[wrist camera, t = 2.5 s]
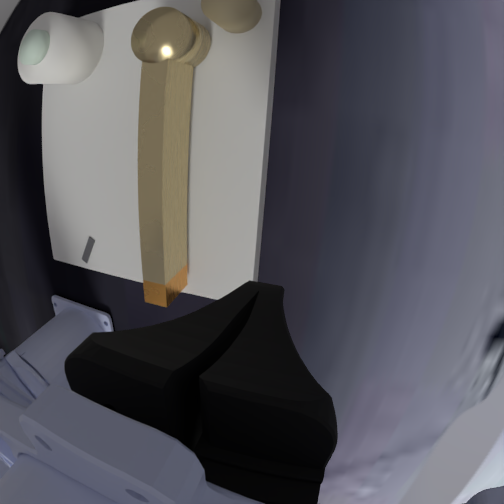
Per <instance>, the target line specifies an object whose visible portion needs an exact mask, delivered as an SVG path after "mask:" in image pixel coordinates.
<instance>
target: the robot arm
mask: <svg viewBox="0 0 504 504" xmlns="http://www.w3.org/2000/svg"><path fill="white" fill-rule="evenodd" d="M283 297H284V288H283V287H282V286H278V285H272V284H267V283H261V282H256V281H250V280H249V281H248V282H246V283H244V284H243V285H241V286H240V287H238V288H237V289H235V290H233V291H232V292H230V293H229V294H227V295H225V296H224V297H222V298H220V299H219V300H217V301H215V302H213V303H211V304H209V305H207V306H205V307H203V308H201V309H199V310H197V311H195V312H193V313H190V314H188V315H185V316H182V317H180V318H177V319H174V320H171V321H167V322H163V323H160V324H156V325H152V326H148V327H143V328H137V329H131V330H123V331H114V330H113V325H112V320H111V316H110V315H109V314H108V313H105V312H102V311H99V310H97V309H94V308H91V307H88V306H85V305H82V304H79V303H76V302H74V301H71V300H68V299H65V298H63V297H60V296H57V295H54V296H52V303H53V306H54V310H55V314H56V316H55V317H54V318H53V319H51V320H50V321H49V322H48V323H46V324H45V325H44V326H43V327H41V328H40V329H39V330H38V331H37V332H35V333H34V334H33V335H32V336H30V337H29V338H28V339H27V340H26V341H24V342H23V343H22V344H21V345H20V346H18V347H17V348H16V349H15V350H13V351H12V352H10V353H9V354H7V355H6V356H5V357H4V355H5V354H6V353H5V352H4V350H3V349H0V504H317V502H318V496H319V490H320V484H321V483H322V482H323V478H324V472H325V467H326V465H327V463H328V461H329V460H330V458H331V456H332V454H333V452H334V450H335V448H336V444H337V437H338V433H337V421H336V415H335V410H334V405H333V401H332V398H331V396H330V395H329V394H328V393H327V392H326V391H325V390H324V389H323V388H322V387H321V386H320V385H319V384H318V383H317V381H316V380H315V379H314V377H313V376H312V375H311V373H310V372H309V371H308V369H307V367H306V366H305V364H304V363H303V361H302V359H301V358H300V356H299V354H298V352H297V350H296V348H295V346H294V343H293V341H292V339H291V336H290V333H289V330H288V327H287V323H286V319H285V314H284V309H283ZM464 504H504V486H502V487H496V488H490V489H486V490H483V491H481V492H479V493H477V494H476V495H474V496H473V497H472V498H471V499H470V500H468V502H467V503H464Z"/></svg>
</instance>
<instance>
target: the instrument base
mask: <svg viewBox="0 0 504 504" xmlns="http://www.w3.org/2000/svg"><path fill="white" fill-rule="evenodd" d="M280 1H281V0H138V1H134V2H130V3H126V4H122V5H118V6H115V7H111V8H108V9H104V10H101V11H98V12H95V13H91V14H88V15H85V16H82V17H79V18H77V17H73V16H68V15H64V14H59V13H55V12H47V13H44V14H42V15H41V16H39V17H38V18H37V19H36V20H35V21H34V22H33V23H32V24H31V25H30V27H29V28H28V30H27V31H26V33H25V35H24V37H23V39H22V42H21V45H20V48H19V53H18V71H19V74H20V76H21V78H22V80H23V81H24V82H26V83H28V84H43V101H42V156H43V175H44V189H45V200H46V209H47V218H48V225H49V233H50V239H51V246H52V252H53V257H54V259H55V260H58V261H62V262H65V263H69V264H73V265H76V266H80V267H84V268H87V269H91V270H95V271H99V272H102V273H106V274H110V275H114V276H118V277H122V278H126V279H130V280H134V281H138V282H142V283H143V274H142V262H141V248H140V232H139V210H138V117H139V96H140V80H141V67H142V61H141V60H139V59H138V58H137V57H136V56H135V55H134V53H133V51H132V48H131V36H132V32H133V29H134V27H135V25H136V24H137V22H138V21H139V20H140V18H141V17H142V16H144V15H145V14H146V13H147V12H149V11H151V10H153V9H155V8H158V7H172V8H175V9H177V10H178V11H180V12H182V13H183V14H185V15H187V16H188V17H190V18H192V19H193V20H195V21H196V22H198V23H200V24H201V25H203V26H204V27H205V28H206V29H207V31H208V32H209V34H210V38H211V45H210V50H209V52H208V54H207V56H206V58H205V59H204V60H203V61H202V62H201V63H200V64H199V65H198V66H196V67H194V68H193V78H192V92H191V108H190V127H189V149H188V182H187V283H188V284H187V286H186V287H185V288H184V289H183V290H182V291H181V292H185V293H189V294H194V295H199V296H203V297H208V298H212V299H217V300H219V299H220V298H222V297H224V296H225V295H227V294H229V293H230V292H232V291H233V290H235V289H237V288H238V287H240V286H241V285H243V284H244V283H246V282H248V281H249V280H250V281H256V282H258V271H259V260H260V248H261V237H262V226H263V214H264V203H265V191H266V179H267V167H268V155H269V143H270V131H271V119H272V106H273V93H274V81H275V68H276V55H277V42H278V28H279V15H280Z"/></svg>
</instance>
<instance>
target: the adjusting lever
mask: <svg viewBox="0 0 504 504" xmlns="http://www.w3.org/2000/svg"><path fill="white" fill-rule="evenodd" d="M210 45H211V38H210V34H209V32H208V31H207V29H206V28H205V27H204V26H203V25H201V24H200V23H198V22H196V21H195V20H193V19H192V18H190V17H188V16H187V15H185V14H183V13H182V12H180V11H178V10H177V9H175V8H172V7H158V8H155V9H153V10H151V11H149V12H147V13H146V14H145V15H144V16H142V17H141V18H140V20H139V21H138V22H137V24H136V25H135V27H134V29H133V32H132V36H131V48H132V51H133V53H134V55H135V56H136V57H137V58H138V59H139V60H141V61H142V67H141V80H140V96H139V117H138V210H139V232H140V248H141V262H142V274H143V285H144V295H145V302H148V303H152V304H156V305H160V306H164V307H168V305H169V304H170V303H171V302H172V301H173V300H174V299H175V298H176V297H177V295H178V294H179V293H180V292H181V291H182V290H183V289H184V288H185V287H186V286H187V284H188V283H187V182H188V149H189V127H190V108H191V92H192V78H193V68H194V67H196V66H198V65H199V64H200V63H201V62H202V61H203V60H204V59H205V58H206V56H207V54H208V52H209V50H210Z"/></svg>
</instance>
